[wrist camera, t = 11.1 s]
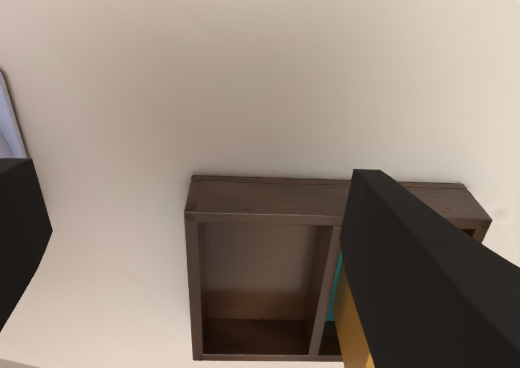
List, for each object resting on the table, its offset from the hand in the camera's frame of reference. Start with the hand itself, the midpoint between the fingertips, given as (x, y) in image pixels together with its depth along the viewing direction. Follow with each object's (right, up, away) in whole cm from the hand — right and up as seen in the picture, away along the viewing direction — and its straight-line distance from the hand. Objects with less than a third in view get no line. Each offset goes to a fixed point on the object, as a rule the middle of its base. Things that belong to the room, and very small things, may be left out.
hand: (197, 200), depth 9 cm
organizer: (+5, -4, +14) cm, 15 cm away
